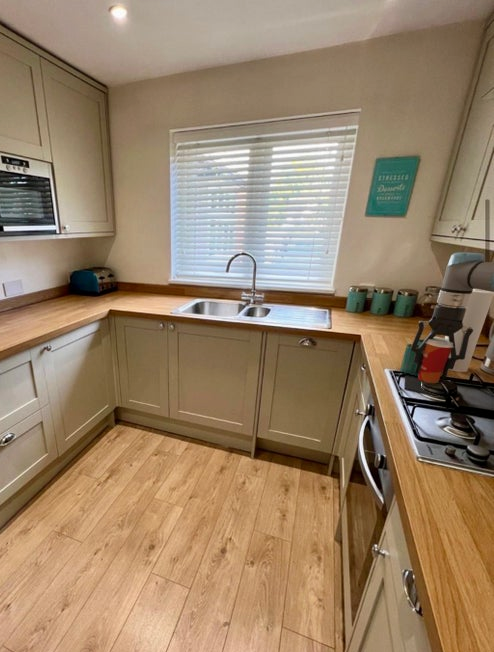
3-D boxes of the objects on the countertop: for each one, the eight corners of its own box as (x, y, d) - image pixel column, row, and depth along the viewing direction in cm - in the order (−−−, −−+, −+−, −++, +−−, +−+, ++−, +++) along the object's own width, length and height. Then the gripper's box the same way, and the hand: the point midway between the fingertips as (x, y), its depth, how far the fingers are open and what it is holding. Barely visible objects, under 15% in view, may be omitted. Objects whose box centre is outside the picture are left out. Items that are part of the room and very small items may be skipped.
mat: (446, 385, 111) (447, 384, 111) (449, 399, 102) (450, 398, 102) (404, 376, 117) (405, 375, 117) (404, 389, 108) (404, 388, 108)
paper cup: (418, 373, 114) (429, 334, 109) (445, 380, 108) (458, 340, 103) (410, 378, 109) (421, 338, 104) (438, 387, 104) (451, 345, 99)
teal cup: (423, 371, 122) (431, 346, 119) (424, 378, 116) (432, 352, 113) (400, 367, 126) (406, 342, 122) (399, 373, 120) (406, 347, 117)
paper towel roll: (471, 369, 126) (499, 290, 115) (460, 373, 121) (488, 292, 111) (443, 360, 133) (467, 286, 123) (432, 365, 129) (455, 287, 118)
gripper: (413, 303, 102) (394, 371, 110) (496, 312, 92) (469, 386, 100) (412, 299, 108) (395, 364, 116) (491, 308, 98) (465, 378, 106)
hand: (429, 374), depth 108 cm, fingers closed on paper cup, 7 cm apart
